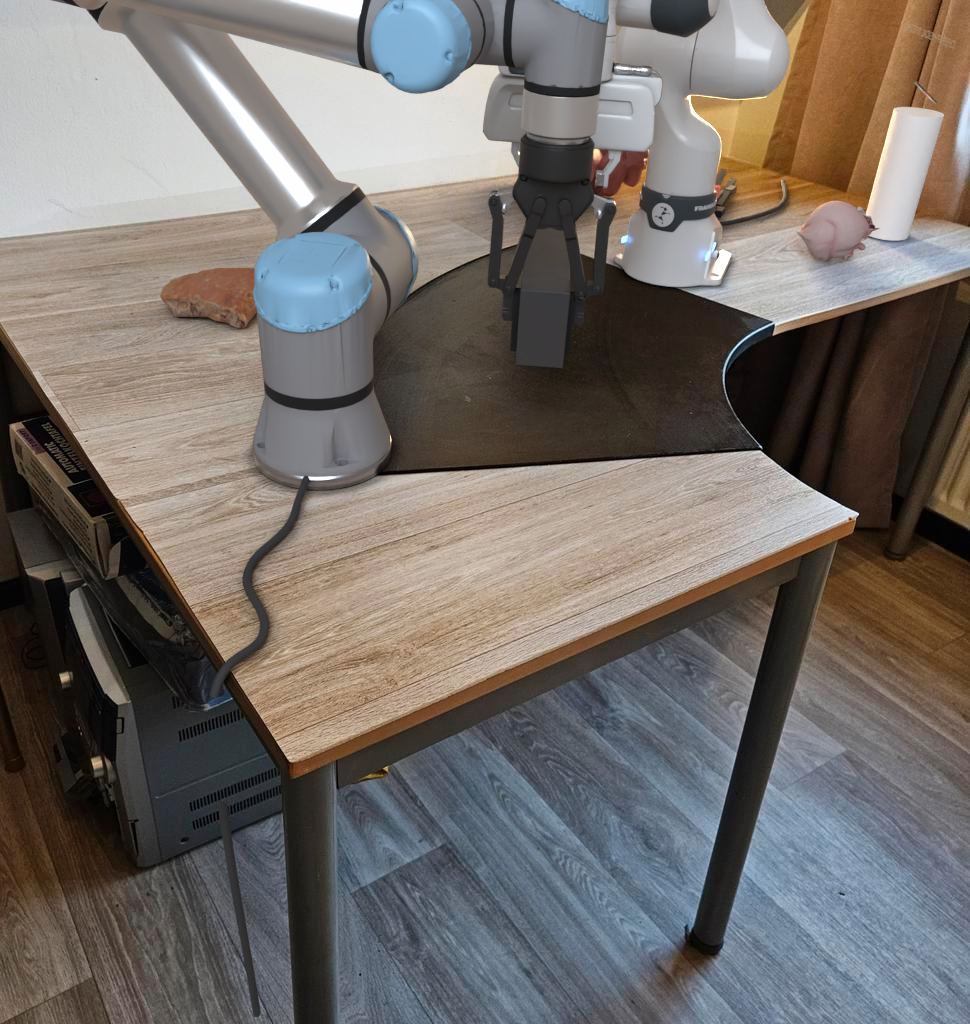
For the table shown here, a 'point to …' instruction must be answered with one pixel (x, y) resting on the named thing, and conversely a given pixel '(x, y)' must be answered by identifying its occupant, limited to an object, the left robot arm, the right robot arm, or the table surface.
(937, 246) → the table surface
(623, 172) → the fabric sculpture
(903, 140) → the tall white tube
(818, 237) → the toy
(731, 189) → the toy
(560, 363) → the bar
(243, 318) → the ceramic shard
